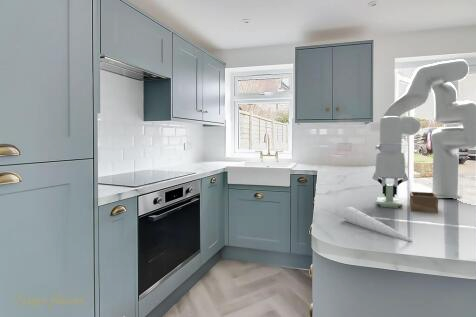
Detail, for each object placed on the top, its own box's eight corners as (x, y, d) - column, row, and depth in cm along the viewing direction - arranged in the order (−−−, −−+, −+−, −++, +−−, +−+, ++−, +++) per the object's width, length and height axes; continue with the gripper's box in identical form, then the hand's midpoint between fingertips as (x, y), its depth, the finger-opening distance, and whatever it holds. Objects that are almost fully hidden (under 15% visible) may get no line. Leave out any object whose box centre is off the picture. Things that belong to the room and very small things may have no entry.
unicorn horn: (400, 245, 74) (401, 225, 74) (341, 222, 97) (341, 206, 97) (416, 243, 76) (416, 224, 75) (353, 220, 98) (354, 206, 98)
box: (409, 207, 118) (409, 191, 118) (434, 208, 115) (434, 192, 114) (410, 212, 108) (411, 195, 108) (437, 214, 105) (438, 197, 105)
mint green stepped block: (378, 201, 126) (378, 182, 126) (401, 203, 122) (402, 183, 122) (376, 207, 116) (376, 185, 116) (402, 209, 112) (402, 187, 112)
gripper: (367, 148, 119) (366, 196, 119) (414, 148, 111) (413, 199, 112) (368, 148, 125) (368, 193, 126) (413, 148, 118) (412, 196, 119)
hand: (389, 195), depth 119 cm, fingers closed on mint green stepped block
